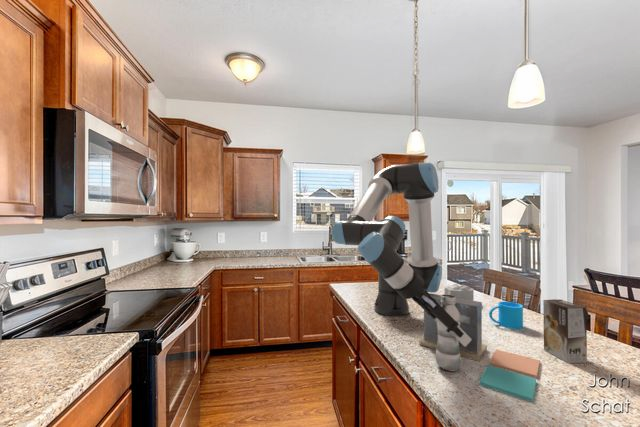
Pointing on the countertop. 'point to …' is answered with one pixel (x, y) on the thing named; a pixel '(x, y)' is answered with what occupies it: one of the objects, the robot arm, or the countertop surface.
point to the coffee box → (565, 330)
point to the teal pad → (509, 382)
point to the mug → (509, 315)
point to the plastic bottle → (448, 338)
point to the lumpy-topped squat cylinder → (460, 291)
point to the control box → (468, 324)
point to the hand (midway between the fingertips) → (460, 337)
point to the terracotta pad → (515, 363)
